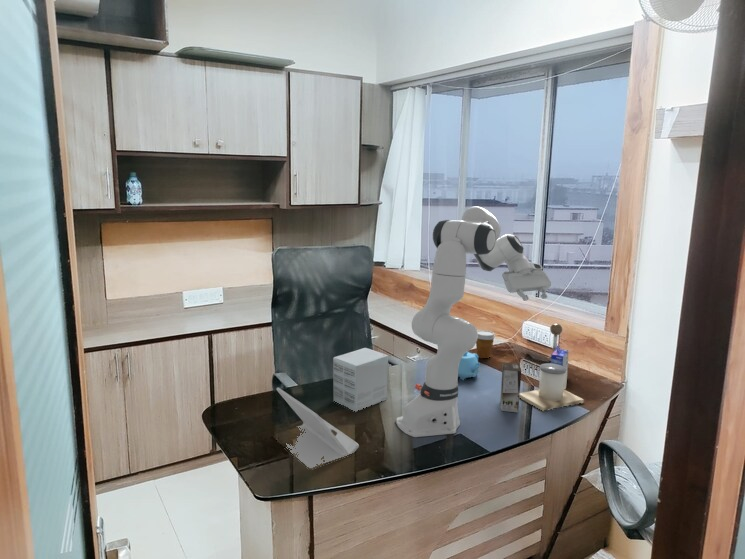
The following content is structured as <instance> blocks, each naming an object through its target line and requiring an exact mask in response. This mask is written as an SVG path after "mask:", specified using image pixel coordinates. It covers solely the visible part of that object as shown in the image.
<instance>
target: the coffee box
mask: <svg viewBox="0 0 745 559" xmlns="http://www.w3.org/2000/svg"><path fill="white" fill-rule="evenodd" d="M501 369H502V370H501V382H500V383H501V386H500V388H501V389H500V398H499V399H500V403H499V404H500V410H501V411H502V412H511V413H519V408H520V406H519V404H520V398H519V395H520V393H521V379H522V368H521V365H520V363H519V362H502V368H501Z"/></svg>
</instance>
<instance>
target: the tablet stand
mask: <svg viewBox="0 0 745 559" xmlns="http://www.w3.org/2000/svg"><path fill="white" fill-rule="evenodd" d="M276 391H277V392H278V393H279V395H280V396H281V397H282V398H283V400H285V402H286V403H287V404H288V405H289V407H290V408H291V409H292V411H293V412H294V413H295V414H296V415H297V416H298V417H299V419H300V420H301V421H302V424H301V425H298V426H297V427H298V428H299V427H300V428H301V429H300V428H299V430H300V431H301V430H302V429H303V430H302V432H303V431H304V429H305V431H304V433H303V434H302V433H300V436H299V437H300V438H299V437H298V436H297V437H298V438H297V441H298V442H297V441H296V443H297V444H296V443H295V444H296V445H295V447H294V446H292V445H291V444H290V445H291V446H290V445H289V444H287V443H286V445H287V447H288V448H290V449H292V450H290V449H289V450H290V452H291V453H292V454H293V453H295V454H296V453H297V452H298V453H297V455H298V454H299V455H298V457H297V455H296V457H297V458H298V459H299V460H300V461H301V462H303V463H304V464H305V465H306V466H307V467H309V468H313V467H315V466H317V465H316V464H318V465H320V464H321V463H322V464H323V463H326V462H329V461H332V460H335V459H338V458H341V457H344V456H347V455H349V454H352V453H353V454H354V453H355V452H356V451H357V450H358V449H359V448H360V445H359V443H358V442H356V441H355V440H354V439H352V438H351V437H349V435H346V434H345V433H344V432H342V431H341V430H339V429H338V428H336V427H335V426H334V425H332V424H331V423H329V422H328V421H327V420H325V419H323V418H322V417H321V416H319V414H318V413H316V412H314V411H313V410H312V409H310V408H309V407H308V406H306V405H305V404H303V403H302V402H301V401H299V400H298V399H296V398H294V397H293V396H292V395H291V394H289V393H287V392H286V391H284V390H283V389H281V388H280V387H278V386H277V387H276ZM333 431H334V432H335V433H336V435H335V434H334V433H333ZM305 432H306V433H305ZM301 434H302V435H301ZM302 436H303V437H302ZM287 447H286V448H287ZM293 447H294V448H293ZM288 448H287V449H288ZM295 448H296V449H295ZM292 454H291V455H292ZM353 454H352V455H353ZM323 456H324V459H322V460H321V458H322V457H323ZM347 457H348V456H347ZM344 458H345V457H344ZM299 460H298V461H299ZM323 460H325V462H323ZM300 461H299V462H300ZM301 462H300V463H301ZM307 467H306V468H307Z"/></svg>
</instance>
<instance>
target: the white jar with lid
mask: <svg viewBox="0 0 745 559" xmlns="http://www.w3.org/2000/svg"><path fill="white" fill-rule="evenodd" d="M539 369H540V371H539V382H538V390H539V394H538V395H539V397H540V398H542V399H545V400H548V401H560V400H562V399H563V390H567V389H566V388H567V380H568V370H567V371H566V368H565V367H563V366H561V365H558V364H552V363H551V362H550V363H541V364H540V365H539Z"/></svg>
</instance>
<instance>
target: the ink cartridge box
mask: <svg viewBox="0 0 745 559" xmlns="http://www.w3.org/2000/svg"><path fill="white" fill-rule="evenodd" d="M550 363H552V364H558V365H561V366H563V367H565V368H566V371H567V372H568V369H569V368H568V367H569V350H567V349H562V348H560V345H557V346H556V350H553V352H552V353H551V355H550Z"/></svg>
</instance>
